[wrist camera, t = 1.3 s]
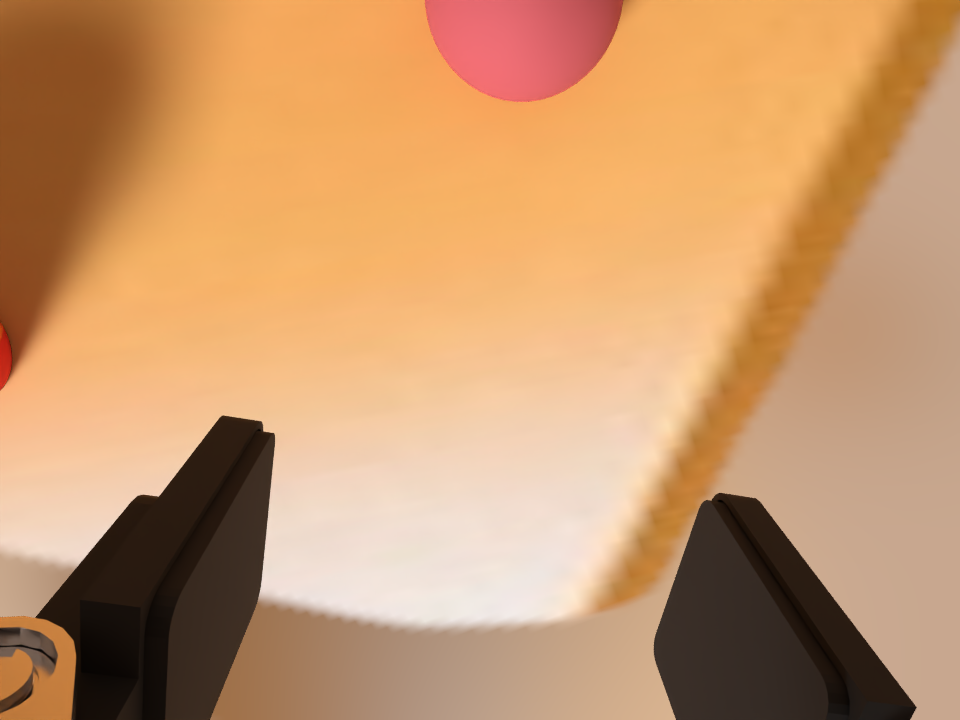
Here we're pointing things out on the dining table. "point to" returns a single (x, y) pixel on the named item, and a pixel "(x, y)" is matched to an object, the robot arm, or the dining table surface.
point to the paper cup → (4, 357)
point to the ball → (522, 42)
